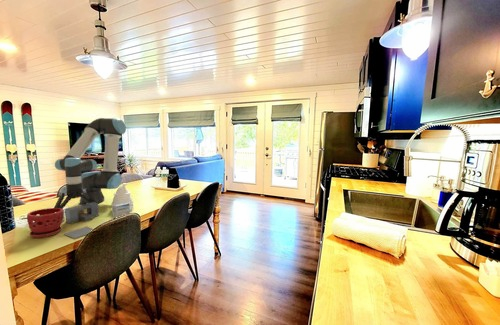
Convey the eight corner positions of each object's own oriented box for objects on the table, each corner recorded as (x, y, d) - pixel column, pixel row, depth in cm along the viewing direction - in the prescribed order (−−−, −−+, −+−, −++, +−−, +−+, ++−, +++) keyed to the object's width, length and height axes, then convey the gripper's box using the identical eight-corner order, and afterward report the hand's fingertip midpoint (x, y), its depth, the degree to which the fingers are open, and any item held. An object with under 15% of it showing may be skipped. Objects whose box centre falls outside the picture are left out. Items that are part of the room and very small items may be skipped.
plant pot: (50, 239, 101) (48, 215, 100) (20, 240, 100) (18, 215, 99) (70, 228, 114) (69, 206, 113) (45, 228, 113) (43, 206, 112)
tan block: (79, 215, 133) (79, 207, 133) (83, 216, 131) (82, 208, 131) (71, 217, 129) (70, 209, 129) (74, 218, 127) (74, 210, 127)
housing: (94, 214, 135) (93, 202, 134) (98, 215, 133) (98, 203, 132) (65, 222, 122) (64, 208, 121) (70, 223, 120) (69, 210, 119)
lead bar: (83, 216, 131) (82, 212, 131) (92, 219, 127) (92, 215, 127) (75, 219, 128) (75, 214, 127) (85, 222, 123) (84, 217, 123)
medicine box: (116, 220, 126) (116, 206, 125) (113, 219, 128) (112, 205, 127) (130, 216, 133) (129, 203, 132) (126, 215, 135) (125, 202, 134)
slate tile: (86, 227, 116) (86, 226, 116) (97, 231, 111) (97, 230, 111) (64, 234, 107) (64, 233, 107) (75, 239, 102) (75, 237, 102)
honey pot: (127, 205, 154) (126, 181, 152) (137, 208, 148) (136, 183, 146) (108, 210, 143) (106, 184, 141) (118, 214, 137) (116, 187, 135)
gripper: (93, 179, 141) (94, 209, 143) (44, 186, 118) (47, 222, 120) (99, 180, 138) (101, 211, 140) (51, 187, 115) (53, 224, 117)
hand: (76, 216), depth 130 cm, fingers open, 13 cm apart
